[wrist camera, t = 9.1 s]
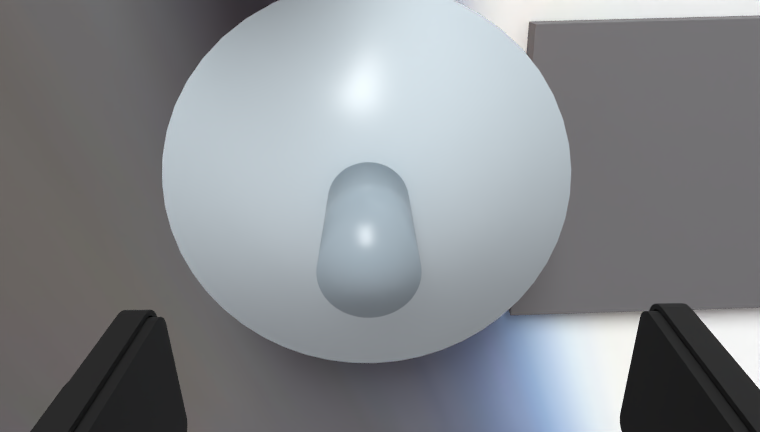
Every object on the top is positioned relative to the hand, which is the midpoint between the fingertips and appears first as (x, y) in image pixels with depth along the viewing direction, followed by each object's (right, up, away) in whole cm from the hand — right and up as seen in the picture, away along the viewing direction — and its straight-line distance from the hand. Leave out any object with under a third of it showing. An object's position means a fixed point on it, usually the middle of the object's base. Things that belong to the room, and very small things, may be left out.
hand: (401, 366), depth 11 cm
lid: (-1, +4, +9) cm, 10 cm away
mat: (+13, +5, +16) cm, 21 cm away
